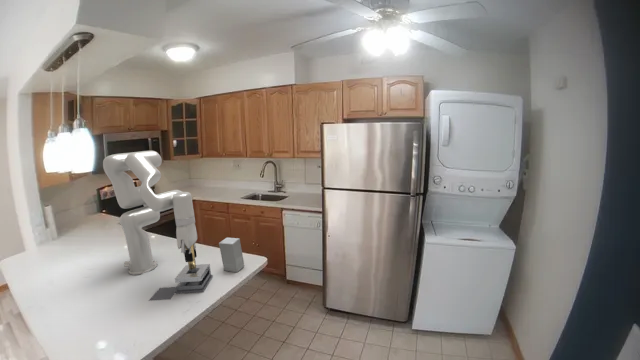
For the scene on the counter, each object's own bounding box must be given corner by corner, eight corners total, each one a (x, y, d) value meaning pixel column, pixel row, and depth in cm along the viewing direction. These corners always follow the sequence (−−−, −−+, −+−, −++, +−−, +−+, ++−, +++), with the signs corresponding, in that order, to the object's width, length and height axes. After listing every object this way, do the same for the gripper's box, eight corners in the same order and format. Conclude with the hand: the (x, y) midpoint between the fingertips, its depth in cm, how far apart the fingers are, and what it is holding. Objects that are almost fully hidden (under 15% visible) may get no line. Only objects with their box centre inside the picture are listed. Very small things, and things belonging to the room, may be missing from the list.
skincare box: (244, 266, 138) (241, 237, 135) (236, 273, 132) (232, 243, 128) (230, 264, 141) (227, 236, 138) (221, 271, 134) (218, 241, 131)
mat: (148, 301, 113) (148, 300, 113) (159, 288, 122) (159, 287, 122) (170, 300, 113) (170, 299, 113) (180, 287, 122) (180, 286, 122)
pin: (187, 269, 119) (183, 244, 117) (190, 265, 123) (186, 241, 120) (194, 269, 119) (191, 244, 117) (197, 265, 123) (194, 241, 120)
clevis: (175, 294, 117) (173, 279, 115) (187, 279, 129) (185, 264, 127) (203, 292, 117) (201, 277, 116) (212, 277, 129) (211, 263, 127)
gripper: (184, 214, 124) (190, 251, 128) (167, 228, 108) (173, 269, 112) (201, 214, 125) (206, 250, 128) (186, 227, 109) (192, 268, 112)
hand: (191, 259), depth 120 cm, fingers closed on pin, 3 cm apart
